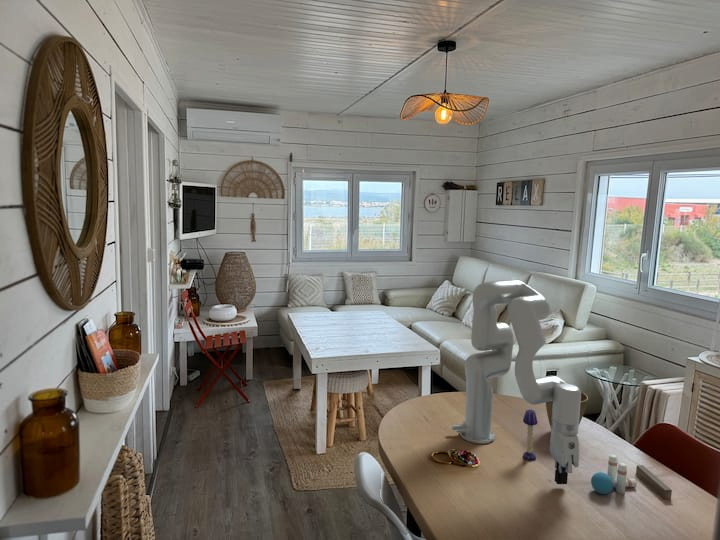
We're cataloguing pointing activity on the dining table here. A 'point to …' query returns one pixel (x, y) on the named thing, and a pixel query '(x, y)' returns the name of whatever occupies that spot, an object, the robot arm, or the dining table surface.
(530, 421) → the toy lamp
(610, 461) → the pin
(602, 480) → the ball
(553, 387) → the robot arm
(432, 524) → the dining table surface
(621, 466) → the pin
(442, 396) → the dining table surface
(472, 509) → the dining table surface
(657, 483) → the back rail
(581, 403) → the plant pot
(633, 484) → the front pin
